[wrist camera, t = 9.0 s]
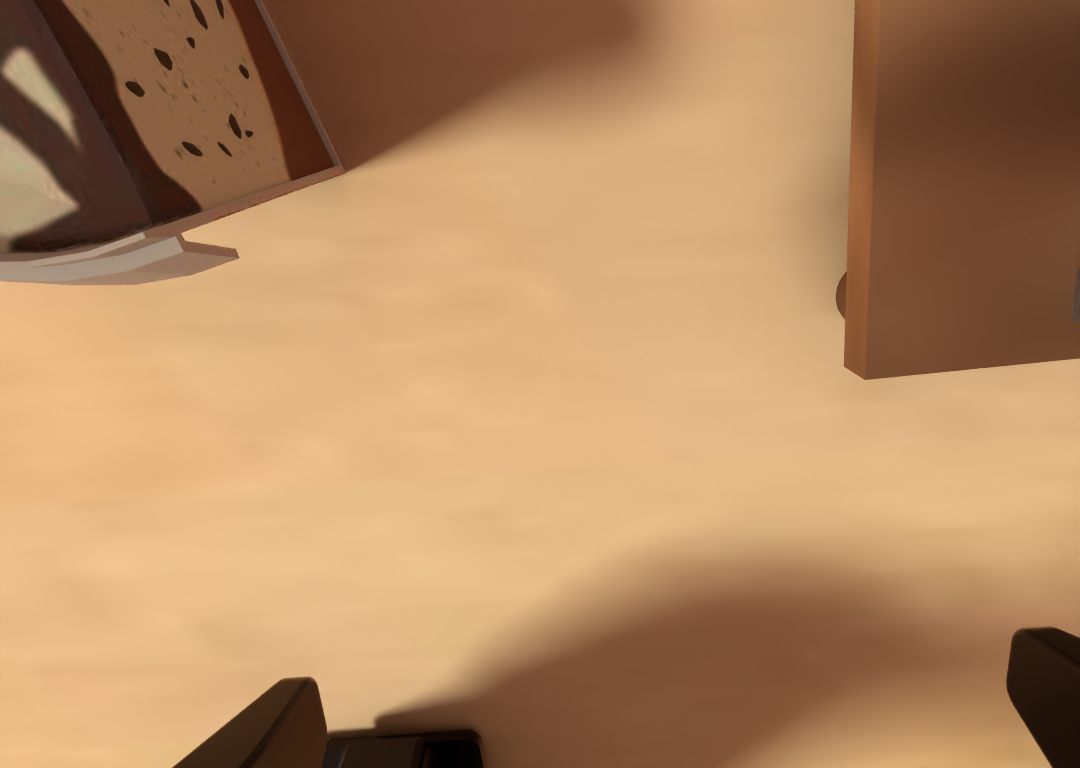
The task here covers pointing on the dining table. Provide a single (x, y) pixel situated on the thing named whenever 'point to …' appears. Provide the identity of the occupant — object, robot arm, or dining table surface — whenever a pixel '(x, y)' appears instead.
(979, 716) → the dining table surface
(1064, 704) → the robot arm
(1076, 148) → the stand
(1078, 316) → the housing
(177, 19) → the food container
